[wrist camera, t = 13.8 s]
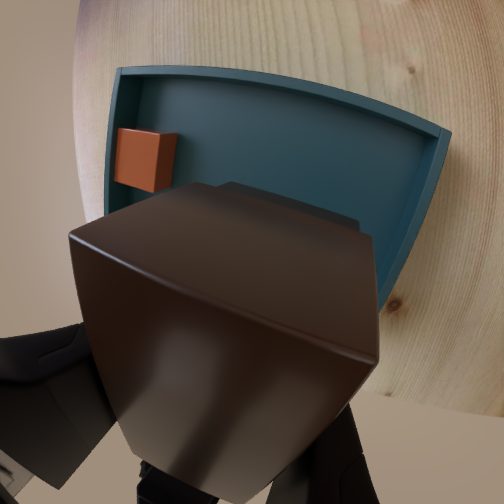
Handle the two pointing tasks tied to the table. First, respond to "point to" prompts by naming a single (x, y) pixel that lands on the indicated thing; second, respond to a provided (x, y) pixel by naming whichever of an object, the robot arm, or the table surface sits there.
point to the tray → (287, 147)
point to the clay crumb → (145, 158)
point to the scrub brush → (227, 328)
